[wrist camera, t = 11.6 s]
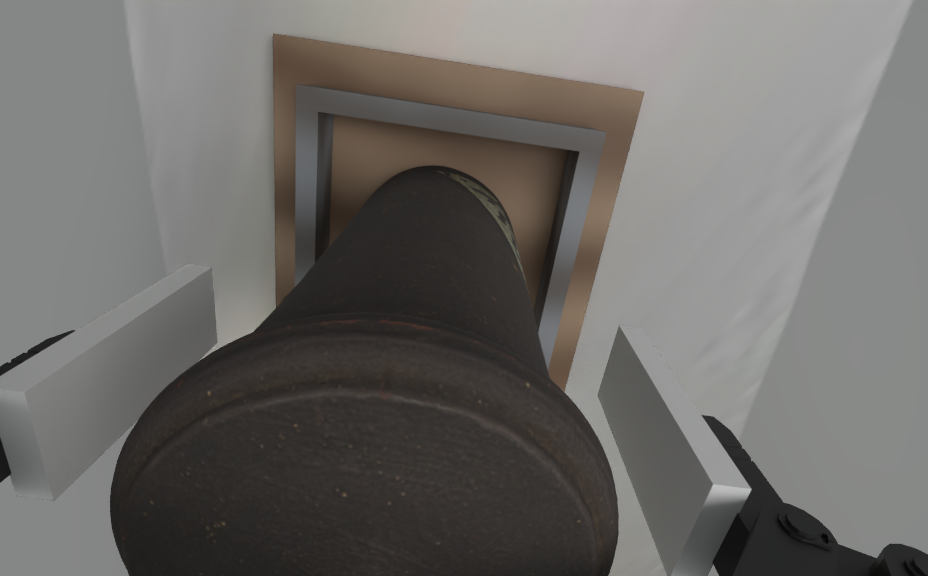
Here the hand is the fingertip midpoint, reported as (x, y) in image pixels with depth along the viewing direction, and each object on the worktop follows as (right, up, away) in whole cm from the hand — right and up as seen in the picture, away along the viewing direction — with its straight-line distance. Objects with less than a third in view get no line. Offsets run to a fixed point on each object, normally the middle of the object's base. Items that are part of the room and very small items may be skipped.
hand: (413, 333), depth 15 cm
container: (0, +4, +11) cm, 12 cm away
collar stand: (0, +5, +12) cm, 13 cm away
